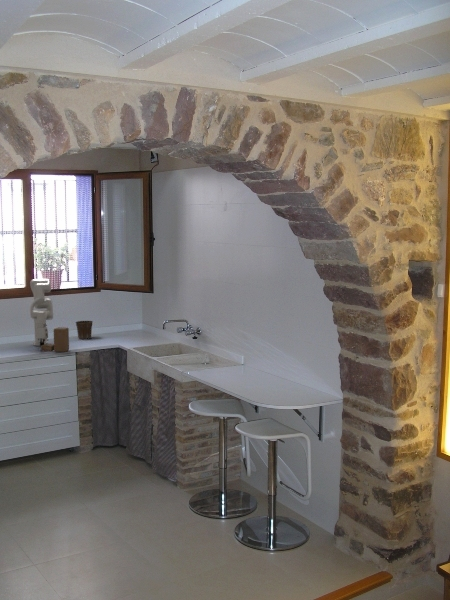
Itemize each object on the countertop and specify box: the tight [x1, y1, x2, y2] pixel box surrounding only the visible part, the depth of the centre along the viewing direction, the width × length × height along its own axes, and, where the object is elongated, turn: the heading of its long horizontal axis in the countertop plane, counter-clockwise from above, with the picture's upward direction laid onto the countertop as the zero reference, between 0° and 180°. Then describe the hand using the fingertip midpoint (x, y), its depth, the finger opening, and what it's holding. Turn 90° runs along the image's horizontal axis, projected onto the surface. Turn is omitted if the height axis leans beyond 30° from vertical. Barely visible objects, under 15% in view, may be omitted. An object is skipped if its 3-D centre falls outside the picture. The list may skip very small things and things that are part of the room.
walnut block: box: [40, 343, 55, 352], centre depth 583 cm, size 10×10×5 cm
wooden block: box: [53, 326, 70, 353], centre depth 577 cm, size 10×10×20 cm
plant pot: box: [75, 320, 93, 340], centre depth 641 cm, size 16×16×16 cm
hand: (42, 346), depth 585 cm, fingers closed
